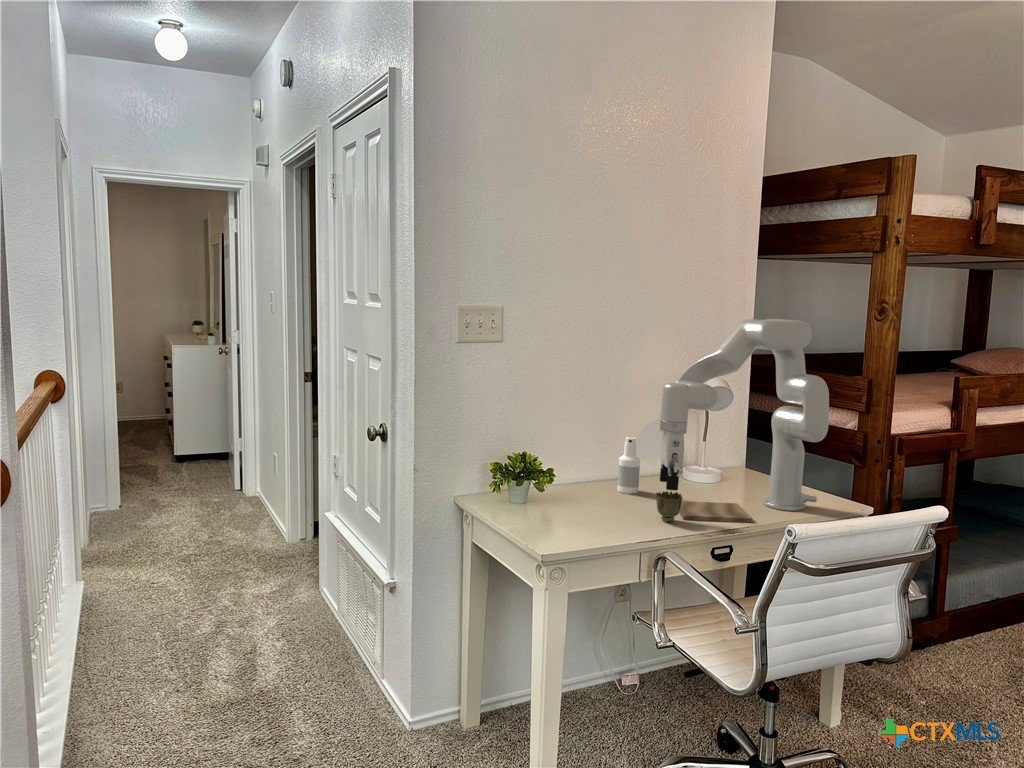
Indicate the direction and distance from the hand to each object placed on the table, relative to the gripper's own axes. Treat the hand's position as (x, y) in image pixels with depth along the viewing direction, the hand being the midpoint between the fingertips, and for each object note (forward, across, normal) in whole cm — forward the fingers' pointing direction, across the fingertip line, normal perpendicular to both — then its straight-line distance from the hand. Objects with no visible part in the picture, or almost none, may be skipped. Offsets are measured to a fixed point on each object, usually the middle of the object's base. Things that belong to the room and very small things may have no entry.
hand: (668, 485), depth 217 cm
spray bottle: (+10, +32, +6) cm, 35 cm away
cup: (+11, 0, -1) cm, 11 cm away
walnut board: (+10, +10, -16) cm, 21 cm away
